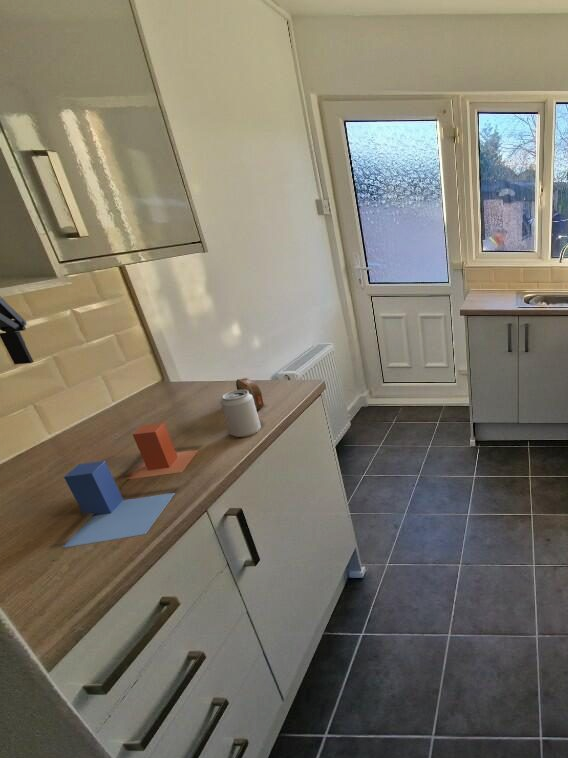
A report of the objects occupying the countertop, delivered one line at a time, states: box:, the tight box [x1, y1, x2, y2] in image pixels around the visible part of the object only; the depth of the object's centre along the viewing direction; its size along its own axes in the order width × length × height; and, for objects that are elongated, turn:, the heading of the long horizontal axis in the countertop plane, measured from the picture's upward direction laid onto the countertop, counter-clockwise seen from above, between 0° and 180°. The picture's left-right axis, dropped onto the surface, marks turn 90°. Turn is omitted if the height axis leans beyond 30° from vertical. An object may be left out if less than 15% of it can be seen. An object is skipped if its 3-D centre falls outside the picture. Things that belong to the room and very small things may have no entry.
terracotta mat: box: [126, 449, 200, 481], centre depth 102 cm, size 12×10×1 cm
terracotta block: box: [132, 422, 178, 470], centre depth 100 cm, size 4×4×10 cm
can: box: [220, 389, 262, 438], centre depth 114 cm, size 8×8×12 cm
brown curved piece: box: [235, 377, 265, 411], centre depth 130 cm, size 15×3×8 cm, turn 49°
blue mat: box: [61, 492, 176, 549], centre depth 84 cm, size 14×13×1 cm
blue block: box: [63, 460, 124, 516], centre depth 85 cm, size 4×4×10 cm
